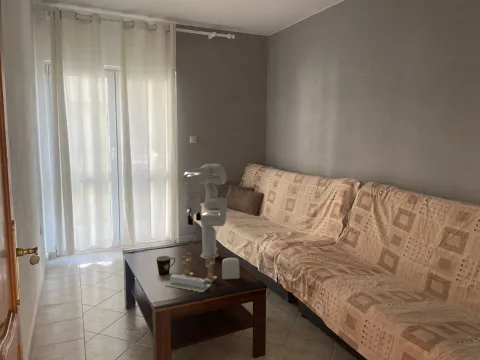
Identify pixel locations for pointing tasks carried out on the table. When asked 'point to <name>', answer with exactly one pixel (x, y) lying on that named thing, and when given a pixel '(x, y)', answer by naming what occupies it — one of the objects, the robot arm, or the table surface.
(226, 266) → the photo printer
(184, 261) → the forked stand
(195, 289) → the sage mat
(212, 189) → the robot arm
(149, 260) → the table surface
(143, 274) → the table surface
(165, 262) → the coffee mug
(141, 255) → the table surface
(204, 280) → the steel bar
